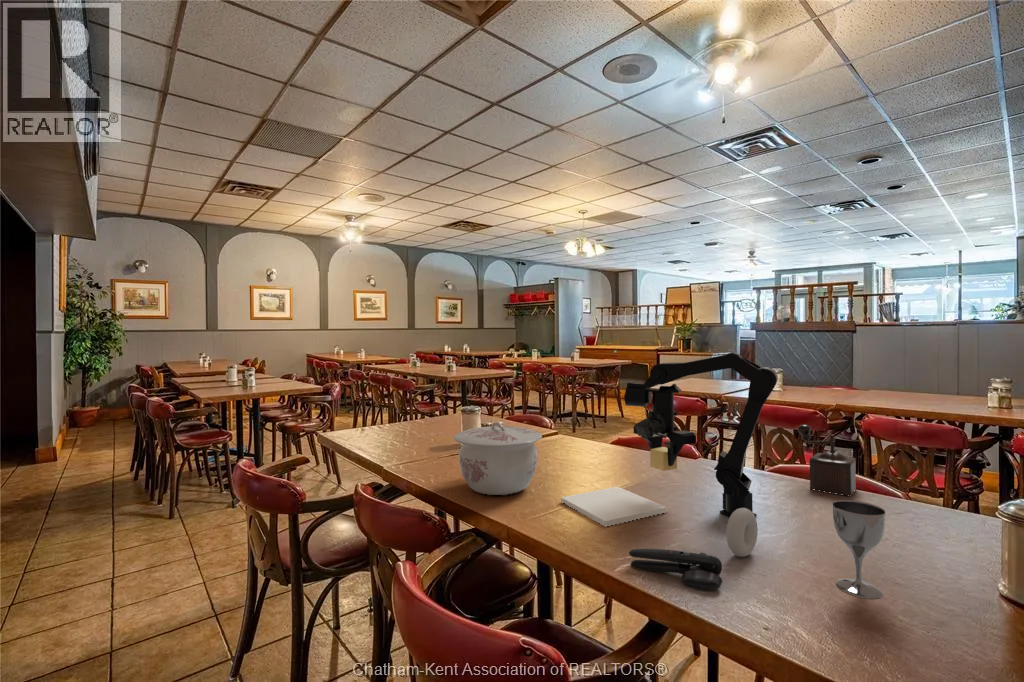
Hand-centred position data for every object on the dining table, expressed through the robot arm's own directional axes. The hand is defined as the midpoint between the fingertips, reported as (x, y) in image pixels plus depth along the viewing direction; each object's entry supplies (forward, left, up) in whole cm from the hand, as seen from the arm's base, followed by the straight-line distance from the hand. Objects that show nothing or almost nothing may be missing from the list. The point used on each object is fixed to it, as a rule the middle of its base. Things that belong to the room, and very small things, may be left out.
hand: (663, 463), depth 135 cm
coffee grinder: (-13, -52, -11) cm, 55 cm away
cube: (0, 0, -1) cm, 1 cm away
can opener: (-32, +28, -12) cm, 44 cm away
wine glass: (-51, +2, -11) cm, 52 cm away
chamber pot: (+34, +35, -11) cm, 50 cm away
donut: (-32, +9, -11) cm, 35 cm away
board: (+4, +15, -11) cm, 19 cm away
